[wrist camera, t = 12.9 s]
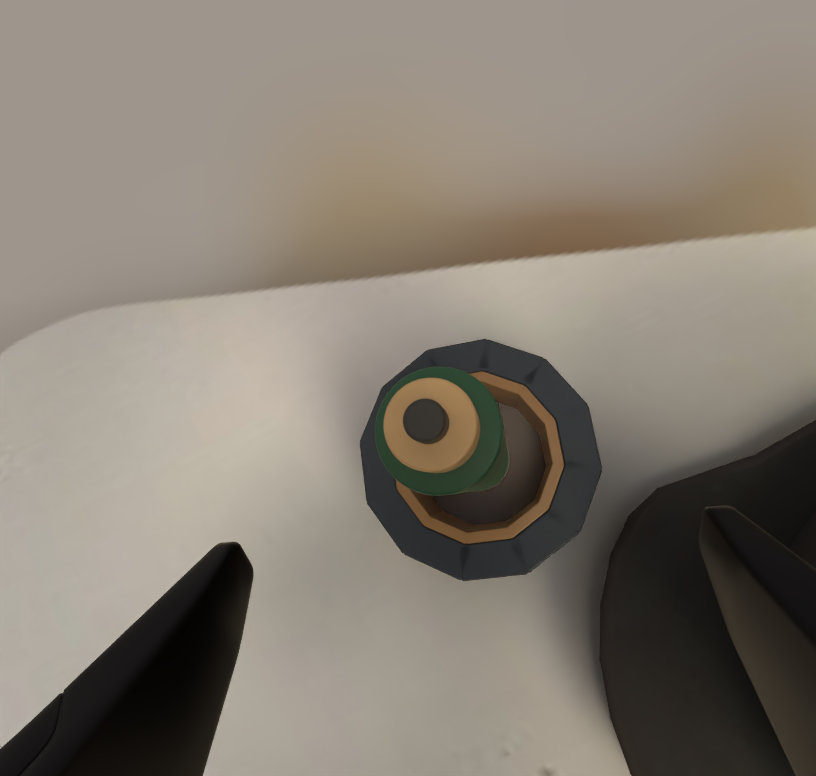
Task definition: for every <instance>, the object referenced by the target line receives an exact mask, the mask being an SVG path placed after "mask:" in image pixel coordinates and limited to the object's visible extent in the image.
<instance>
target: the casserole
mask: <svg viewBox="0 0 816 776" xmlns="http://www.w3.org/2000/svg"><path fill="white" fill-rule="evenodd" d="M713 506H731V507H733V508H735V509H736V510H737V511H739V512H740V513H741V514H743V515H744V516H745V517H747V518H748V519H749V520H751V521H752V522H753V523H755V524H756V525H758V526H759V527H760V528H762V529H763V530H764V531H766V532H767V533H768V534H770V535H771V536H772V537H774V538H775V539H776V540H778V541H779V542H780V543H782V544H783V545H784V546H786V547H787V548H788V549H790V550H791V551H792V552H794V553H795V554H796V555H798V556H799V557H801V558H802V559H803V560H805V561H806V562H807V563H809V564H810V565H811V566H813V567H814V568H815V569H816V420H815V421H814V422H812V423H810V424H808V425H806V426H805V427H803V428H801V429H799V430H798V431H796V432H794V433H792V434H791V435H789V436H787V437H785V438H784V439H782V440H780V441H778V442H777V443H775V444H773V445H771V446H770V447H768V448H766V449H764V450H763V451H761V452H759V453H757V454H756V455H753V456H750V457H747V458H744V459H741V460H738V461H735V462H732V463H729V464H727V465H724V466H721V467H718V468H715V469H712V470H709V471H706V472H703V473H700V474H697V475H695V476H692V477H689V478H686V479H683V480H680V481H677V482H674V483H671V484H668V485H665V486H663V487H660V488H657V489H656V490H655V491H654V492H653V493H652V494H651V495H650V496H649V497H648V498H647V499H646V500H645V501H644V502H643V503H642V504H641V505H640V506H639V507H637V508H636V509H635V510H634V511H633V512H632V513H631V514H630V515H629V516H628V518H627V520H626V522H625V525H624V527H623V529H622V531H621V533H620V535H619V538H618V540H617V542H616V544H615V546H614V548H613V551H612V553H611V555H610V560H609V565H608V569H607V574H606V579H605V584H604V589H603V594H602V599H601V604H600V663H601V669H602V674H603V680H604V685H605V691H606V696H607V702H608V707H609V713H610V718H611V721H612V724H613V726H614V729H615V732H616V735H617V737H618V740H619V743H620V746H621V749H622V751H623V754H624V757H625V760H626V762H627V765H628V768H629V771H630V773H631V775H632V776H795V774H794V771H793V769H792V767H791V765H790V763H789V761H788V759H787V757H786V754H785V752H784V750H783V748H782V746H781V744H780V742H779V740H778V737H777V735H776V733H775V731H774V729H773V727H772V725H771V723H770V720H769V718H768V716H767V714H766V712H765V710H764V708H763V706H762V703H761V701H760V699H759V697H758V695H757V693H756V691H755V689H754V686H753V684H752V682H751V680H750V678H749V676H748V674H747V672H746V669H745V667H744V665H743V663H742V661H741V659H740V657H739V655H738V652H737V650H736V648H735V646H734V644H733V641H732V639H731V637H730V634H729V632H728V629H727V626H726V624H725V621H724V618H723V615H722V612H721V609H720V606H719V603H718V600H717V597H716V595H715V592H714V589H713V586H712V583H711V580H710V577H709V574H708V571H707V568H706V565H705V562H704V559H703V556H702V554H701V550H700V546H699V532H700V526H701V520H702V513H703V510H704V509H705V508H706V507H713Z"/></svg>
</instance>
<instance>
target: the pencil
mask: <svg viewBox="0 0 816 776" xmlns="http://www.w3.org/2000/svg"><path fill="white" fill-rule="evenodd" d="M375 441H376V446H377V450H378V453H379V456H380V458H381V460H382V462H383V464H384V466H385V467H386V469H387V470H388V472H389V473H390V474H391V475H392V476H393V477H394V478H395V479H396V480H397V481H398V482H399V483H401V484H402V485H404V486H405V487H407V488H409V489H411V490H413V491H415V492H418V493H421V494H426V495H431V496H444V495H453V494H459V493H466V492H473V491H474V492H481V491H487V490H490V489H492V488H494V487H496V486H497V485H499V484H500V483H501V482H502V481H503V480H504V478H505V477H506V475H507V473H508V470H509V467H510V454H509V450H508V447H507V444H506V438H505V432H504V427H503V421H502V416H501V412H500V409H499V407H498V404H497V402H496V400H495V398H494V397H493V395H492V394H491V392H490V391H489V390H488V388H487V387H486V386H485V385H484V384H483V383H482V382H480V381H479V380H478V379H476V378H475V377H474V376H472V375H470V374H468V373H466V372H464V371H461V370H458V369H454V368H450V367H430V368H425V369H421V370H418V371H415V372H413V373H411V374H409V375H407V376H406V377H404V378H403V379H401V380H400V381H399V382H397V383H396V384H395V385H394V386H393V387H392V388H391V390H390V391H389V392H388V393H387V395H386V396H385V398H384V400H383V401H382V403H381V406H380V408H379V411H378V414H377V417H376V423H375Z"/></svg>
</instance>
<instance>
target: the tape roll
mask: <svg viewBox="0 0 816 776" xmlns="http://www.w3.org/2000/svg"><path fill="white" fill-rule="evenodd" d="M430 367H450V368H454V369H458V370H461V371H464V372H466V373H468V374H470V375H472V376H474V377H475V378H476V379H478V380H479V381H480V382H482V383H483V384H484V385H485V386H486V387H487V388H488V390H489V391H490V392H491V394H492V395H493V397H494V398H495V400H496V401H498V402H500V403H503V404H506V405H509V406H512V407H514V408H517V409H518V410H519V411H520V412H521V413H522V414H523V415H524V417H525V418H526V419H527V420H528V421H529V422H530V424H531V425H532V426H533V427H534V428H535V429H536V430H537V432H538V433H539V434H540V439H541V444H542V449H543V454H544V460H545V465H546V469H545V472H544V474H543V477H542V480H541V483H540V485H539V488H538V491H537V494H536V496H535V499H534V500H533V501H532V502H530V503H529V504H528V505H527V506H525V507H524V508H523V509H522V510H520V511H519V512H518V513H517V514H515V515H514V516H513V517H512V518H510V519H509V520H508V521H500V522H492V523H484V524H476V525H474V524H471V523H469V522H467V521H464V520H462V519H460V518H457V517H455V516H453V515H450V514H448V513H446V512H443V511H442V509H441V508H440V507H439V505H438V504H437V503H436V501H435V500H434V499H433V497H432V496H431V495H426V494H421V493H418V492H415V491H413V490H411V489H409V488H407V487H405V486H404V485H402V484H401V483H399V482H398V481H397V480H396V479H395V478H394V477H393V476H392V475H391V474H390V473H389V472H388V470H387V469H386V467H385V466H384V464H383V462H382V460H381V458H380V456H379V453H378V450H377V446H376V441H375V423H376V417H377V414H378V411H379V408H380V406H381V403H382V401H383V400H384V398H385V396H386V395H387V393H388V392H389V391H390V390H391V388H392V387H393V386H394V385H395V384H396V383H397V382H399V381H400V380H401V379H403V378H404V377H406V376H407V375H409V374H411V373H413V372H415V371H418V370H421V369H425V368H430ZM360 442H361V443H360V448H361V457H362V466H363V474H364V483H365V492H366V500H367V504H368V505H369V507H370V508H371V510H372V511H373V512H374V514H375V515H376V517H377V518H378V519H379V521H380V522H381V524H382V525H383V526H384V528H385V529H386V531H387V532H388V534H389V535H390V536H391V538H392V539H393V541H394V542H395V543H396V545H397V546H398V548H399V549H400V550H401V552H402V553H404V554H405V555H407V556H409V557H411V558H413V559H415V560H418V561H420V562H422V563H424V564H426V565H428V566H430V567H433V568H435V569H437V570H439V571H441V572H443V573H446V574H448V575H450V576H452V577H454V578H456V579H459V580H462V581H469V580H478V579H487V578H496V577H506V576H515V575H524V574H527V573H529V572H531V571H532V570H533V569H535V568H536V567H537V566H539V565H540V564H541V563H542V562H544V561H545V560H546V559H547V558H549V557H550V556H551V555H552V554H554V553H555V552H556V551H558V550H559V549H560V548H561V547H563V546H564V545H565V544H566V543H568V542H569V541H570V540H571V539H573V538H574V537H575V536H577V535H578V533H579V532H580V531H581V529H582V526H583V524H584V521H585V518H586V515H587V512H588V509H589V506H590V504H591V501H592V498H593V495H594V492H595V489H596V486H597V484H598V481H599V478H600V475H601V472H602V470H601V469H602V466H601V461H600V457H599V452H598V447H597V443H596V438H595V434H594V429H593V424H592V420H591V415H590V411H589V407H588V406H587V403H586V402H585V401H584V400H583V399H582V398H581V397H580V396H579V395H578V393H577V392H576V391H575V390H574V389H573V388H572V387H571V386H570V385H569V384H568V383H567V381H566V380H565V379H564V378H563V377H562V376H561V375H560V374H559V373H558V372H557V371H556V370H555V368H554V367H553V366H552V365H551V364H550V363H549V362H548V361H547V360H546V359H544V358H543V357H540V356H537V355H534V354H530V353H527V352H524V351H521V350H518V349H515V348H512V347H509V346H506V345H503V344H500V343H497V342H494V341H491V340H486V339H482V340H477V341H472V342H467V343H461V344H456V345H451V346H446V347H440V348H435V349H430V350H428V351H425V352H424V353H423V354H422V355H421V356H419V357H418V358H417V359H416V360H414V361H413V362H412V363H411V364H410V365H408V366H407V367H406V368H405V369H404V370H402V371H401V372H400V373H399V374H397V375H396V376H395V377H394V378H393V379H391V380H390V381H389V382H388V383H386V384H385V385H384V386H383V387H382V389H381V391H380V393H379V396H378V398H377V401H376V403H375V406H374V408H373V411H372V413H371V416H370V418H369V420H368V423H367V425H366V428H365V430H364V433H363V435H362V438H361V440H360Z"/></svg>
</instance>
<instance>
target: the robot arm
mask: <svg viewBox="0 0 816 776" xmlns="http://www.w3.org/2000/svg"><path fill="white" fill-rule="evenodd" d="M699 546H700V550H701V554H702V556H703V559H704V562H705V565H706V568H707V571H708V574H709V577H710V580H711V583H712V586H713V589H714V592H715V595H716V597H717V600H718V603H719V606H720V609H721V612H722V615H723V618H724V621H725V624H726V626H727V629H728V632H729V634H730V637H731V639H732V641H733V644H734V646H735V648H736V650H737V652H738V655H739V657H740V659H741V661H742V663H743V665H744V667H745V669H746V672H747V674H748V676H749V678H750V680H751V682H752V684H753V686H754V689H755V691H756V693H757V695H758V697H759V699H760V701H761V703H762V706H763V708H764V710H765V712H766V714H767V716H768V718H769V720H770V723H771V725H772V727H773V729H774V731H775V733H776V735H777V737H778V740H779V742H780V744H781V746H782V748H783V750H784V752H785V754H786V757H787V759H788V761H789V763H790V765H791V767H792V769H793V771H794V774H795V776H816V569H815V568H814V567H813V566H811V565H810V564H809V563H807V562H806V561H805V560H803V559H802V558H801V557H799V556H798V555H796V554H795V553H794V552H792V551H791V550H790V549H788V548H787V547H786V546H784V545H783V544H782V543H780V542H779V541H778V540H776V539H775V538H774V537H772V536H771V535H770V534H768V533H767V532H766V531H764V530H763V529H762V528H760V527H759V526H758V525H756V524H755V523H753V522H752V521H751V520H749V519H748V518H747V517H745V516H744V515H743V514H741V513H740V512H739V511H737V510H736V509H735V508H733V507H731V506H713V507H706V508H705V509H704V510H703V513H702V520H701V526H700V532H699ZM252 582H253V567H252V564H251V563H250V561H249V559H248V557H247V556H246V554H245V552H244V551H243V549H242V547H241V545H240V544H239V543H237V542H226V543H219V544H217V545H216V546H214V547H213V548H212V549H211V550H210V551H209V552H208V553H207V554H206V555H205V556H204V557H203V558H202V559H201V560H200V561H199V562H198V563H197V564H196V565H194V566H193V567H192V568H191V569H190V570H189V571H188V572H187V573H186V574H185V575H184V576H183V577H182V578H181V579H180V580H179V581H178V582H177V583H176V584H175V585H174V586H172V587H171V588H170V589H169V590H168V591H167V592H166V593H165V594H164V595H163V596H162V597H161V598H160V599H159V600H158V601H157V602H156V603H155V604H154V605H153V606H152V607H150V608H149V609H148V610H147V611H146V612H145V613H144V614H143V615H142V616H141V617H140V618H139V619H138V620H137V621H136V622H135V623H134V624H133V625H132V626H131V627H129V628H128V629H127V630H126V631H125V632H124V633H123V634H122V635H121V636H120V637H119V638H118V639H117V640H116V641H115V642H114V643H113V644H112V645H111V646H110V647H109V648H107V649H106V650H105V651H104V652H103V653H102V654H101V655H100V656H99V657H98V658H97V659H96V660H95V661H94V662H93V663H92V664H91V665H90V666H89V667H88V668H87V669H85V670H84V671H83V672H82V673H81V674H80V675H79V676H78V677H77V678H76V679H75V680H74V681H73V682H72V683H71V684H70V685H69V686H68V687H67V688H66V689H65V690H64V692H63V693H61V694H59V695H58V696H57V697H56V698H55V699H54V700H53V701H52V702H51V703H50V704H49V705H48V706H47V707H45V708H44V709H43V710H42V711H41V712H40V713H39V714H38V715H37V716H36V717H35V718H34V719H33V720H32V721H30V722H29V723H28V724H27V725H26V726H25V727H24V728H23V729H22V730H21V731H20V732H19V733H18V734H16V735H15V736H14V737H13V738H12V739H11V740H10V741H9V742H8V743H6V744H5V745H4V746H3V747H2V748H1V749H0V776H203V773H204V769H205V766H206V762H207V759H208V756H209V752H210V749H211V745H212V742H213V739H214V735H215V732H216V728H217V725H218V722H219V718H220V715H221V711H222V708H223V705H224V701H225V698H226V694H227V691H228V688H229V684H230V681H231V677H232V674H233V671H234V667H235V664H236V660H237V656H238V653H239V649H240V644H241V640H242V635H243V630H244V624H245V619H246V614H247V608H248V603H249V598H250V593H251V587H252Z"/></svg>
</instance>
